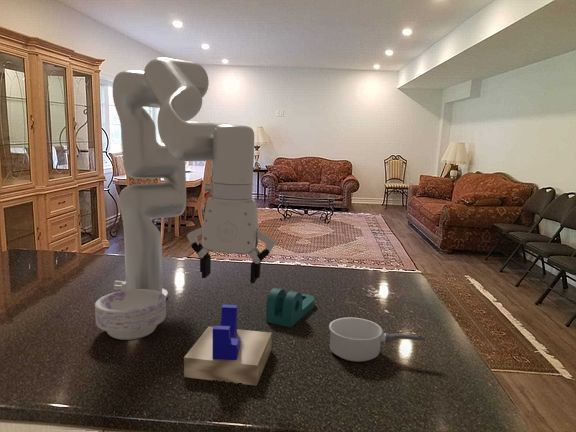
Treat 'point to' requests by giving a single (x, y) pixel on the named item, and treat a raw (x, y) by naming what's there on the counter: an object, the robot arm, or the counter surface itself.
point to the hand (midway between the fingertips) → (229, 278)
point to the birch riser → (236, 371)
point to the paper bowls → (130, 313)
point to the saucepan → (360, 338)
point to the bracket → (287, 307)
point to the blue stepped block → (226, 335)
